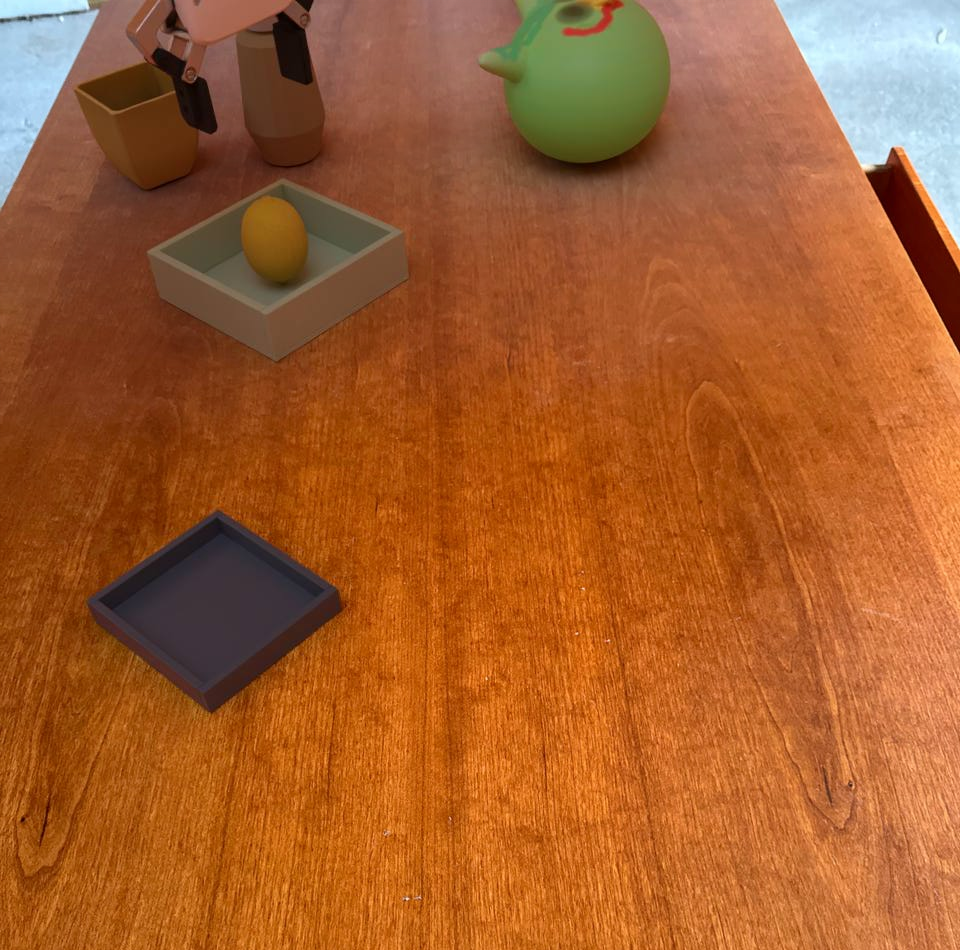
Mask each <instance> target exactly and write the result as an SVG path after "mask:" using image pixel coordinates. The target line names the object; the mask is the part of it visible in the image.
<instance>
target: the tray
mask: <svg viewBox="0 0 960 950" xmlns="http://www.w3.org/2000/svg"><path fill="white" fill-rule="evenodd" d="M85 603H86V605H87V607H88V609H89V611H90V614H91V616H92V618H93V620H94V622H95V623H97V624H98V625H99V626H100V627H102V628H103V629H104V630H105V631H107V632H108V633H109V634H110V635H112V637H114V638H116V639H117V641H119V642H120V643H122V644H123V645H124V646H125V647H127V648H128V649H129V650H130V651H132V652H133V653H134V654H135V655H136V656H138V657H139V658H141V659H142V660H143V661H144V662H145V663H147V664H148V665H149V666H150V667H151V668H153V669H154V670H155V671H157V672H158V673H159V674H161V676H162V677H164V678H165V679H167V680H168V681H169V682H170V683H171V684H173V685H174V686H175V687H177V688H178V689H179V690H181V692H183V693H184V694H186V695H187V696H188V697H189V698H191V699H192V700H193V701H195V703H197V704H198V705H200V706H201V707H202V708H203V709H204V710H206V711H207V712H208V713H210V714H212V713H214V712H215V711H217V709H219V708H220V707H221V706H223V705H224V704H225V703H227V702H228V701H229V700H230V699H232V698H233V697H234V696H235V695H237V694H238V693H239V692H241V691H242V690H243V689H244V688H245V687H246V686H248V685H249V684H251V683H252V682H253V681H254V680H256V679H257V678H258V677H260V675H262V674H263V673H264V672H266V671H267V670H269V668H271V667H272V666H273V665H275V664H276V663H277V662H278V661H280V660H281V659H282V658H283V657H285V656H286V655H287V654H288V653H290V652H292V650H294V649H295V648H296V647H297V646H298V645H300V644H301V643H302V642H304V641H305V640H306V639H307V638H309V637H310V636H311V635H312V634H314V633H315V632H316V631H317V630H319V629H320V628H322V627H323V626H324V625H325V624H326V623H328V622H329V621H330V620H332V619H333V618H334V617H335V616H336V615H338V614H339V613H340V612H342V611H343V605H342V600H341V596H340V592H339V589H338V588H337V587H336V586H335V585H332V584H331V583H330V582H328V581H327V580H325V579H323V578H322V577H321V576H320V575H318V574H317V573H315V572H313V571H312V570H311V569H309V568H308V567H306V566H305V565H303V564H301V563H299V562H298V561H297V560H295V559H294V558H292V557H290V555H288V554H287V553H285V552H283V551H282V550H280V549H278V548H277V547H276V546H274V545H273V544H271V543H270V542H268V541H267V540H265V539H264V538H262V537H261V536H259V535H258V534H256V533H254V532H253V531H252V530H250V529H248V528H247V527H246V526H245V525H242V524H241V523H239V522H238V521H236V520H235V519H234V518H232V517H231V516H229V515H227V514H226V513H225V512H223V511H222V510H220V509H219V508H217V509H216V510H215V511H213V512H211V513H210V514H209V515H207V516H206V517H205V518H203V519H201V520H200V521H199V522H197V523H195V524H194V525H193V526H192V527H189V529H187V530H185V531H184V532H183V533H181V534H180V535H178V536H177V537H175V538H174V539H173V540H171V541H170V542H168V543H167V544H165V545H164V546H162V547H161V548H159V549H158V550H157V551H155V552H154V553H152V554H151V555H150V556H148V557H146V558H145V559H144V560H142V561H140V562H139V563H138V564H136V565H135V566H134V567H132V568H130V569H129V570H127V571H126V572H125V573H123V574H122V575H120V576H118V578H116V579H115V580H113V581H112V582H110V583H109V584H108V585H106V586H105V587H103V588H102V589H100V590H99V591H97V592H95V593H94V594H92V595H91V596H90V597H88V598H87V599H86V600H85Z"/></svg>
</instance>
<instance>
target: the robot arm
mask: <svg viewBox="0 0 960 950" xmlns="http://www.w3.org/2000/svg"><path fill="white" fill-rule="evenodd" d="M314 2H315V0H145V1H144V2H143V4H142V5H141V7H140V8H139V9H138V11H137V12H136V14H135V15H134V16H133V18H132V19H131V20H130V21H129V22H128V24H127V26H126V27H125V35H126V37H127V38H128V40H129V41H130V42H131V43H132V45H133V46H134V47H135V48H136V49H137V51H138V52H139V53H140V54H142V56H143V59H144V61H145V60H146V61H147V62H148V63H150V64H152V65H153V66H155V67H156V68H158V69H160V70H161V71H163V72H164V73H165V74H167V75H169V76H171V77H172V81H173V85H174V88H175V92H176V96H177V100H178V104H179V107H180V111H181V114H182V117H183V118H184V120H185V121H186V123H187V124H188V125H189V126H191V127H193V128H196V129H198V130H199V132H200V131H201V132H203V133H205V134H208V135H213V134H214V133H217V131H218V129H219V126H218V122H217V117H216V113H215V110H214V109H215V108H214V105H213V100H212V96H211V92H210V88H209V85H208V82H207V79H205V78H204V77H202V76H199V74H200V71H201V68H202V67H201V66H202V63H203V60H204V57H205V54H206V50H207V47H208V46H212V45H214V44H217V43H219V42H222V41H224V40H226V39H229V38H230V37H233V36H236V34H237V33H239V32H241V31H243V30H246V29H248V28H250V27H252V26H254V25H256V24H258V23H260V22H262V21H265V20H267V19H269V18H271V17H273V16H274V17H276V18H277V19H278V22H275V23H273V24H272V25H273V29H272V31H273V36H274V41H275V47H276V52H277V57H278V62H279V67H280V72H281V75H282V76H283V77H285V78H287V79H290V80H293V81H295V82H298V83H301V84H304V85H309V84H310V83H312V82H313V76H312V70H311V64H310V63H311V61H310V55H311V54H310V55H309V51H310V48H309V44H308V38H307V33H306V32H307V31H306V29H308V28H309V27H310V25H311V21H312V18H311V16H312V15H311V14H310V11H311V10H312V6H313V4H314ZM158 31H160V32H161V33H163V34H166V35H169V36H168V39H167V43H166V45H165V46H166V47H165V48H164V47H163V45H162V44H161V42H160V40H159V39H158ZM308 48H309V49H308Z"/></svg>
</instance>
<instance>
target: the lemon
mask: <svg viewBox="0 0 960 950" xmlns="http://www.w3.org/2000/svg"><path fill="white" fill-rule="evenodd" d="M241 241H242V247H243V251H244V254H245V256H246V258H247V261H248V263H249V264H250V266H251V267H252V269H253V270H254V271H255V272H256V273H257V274H259V275H260V276H261V277H263V278H265V279H267V280H271V281H277V282H279V283H281V284H284V283H286V282H287V281H288V280H289V279H291V278H293V277H294V276H296V275H297V274H298V273H299V272H300V271H301V270H302V268H303V267H304V265H305V263H306V259H307V255H308V238H307V234H306V230H305V226H304V224H303V221H302V219H301V217H300V215H299V214H298V212H297V211H296V210H295V208H294V207H293V206H292V205H291V204H289V203H288V202H286V201H284V200H282V199H279V198H276V197H270V196H268V195H266V196H263V197H262V198H261V199H259V200H257V201H255V202H254V203H253V204H252V205H250V207H249V208H248V209H247V210H246V212H245V214H244V216H243V219H242V227H241Z"/></svg>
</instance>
